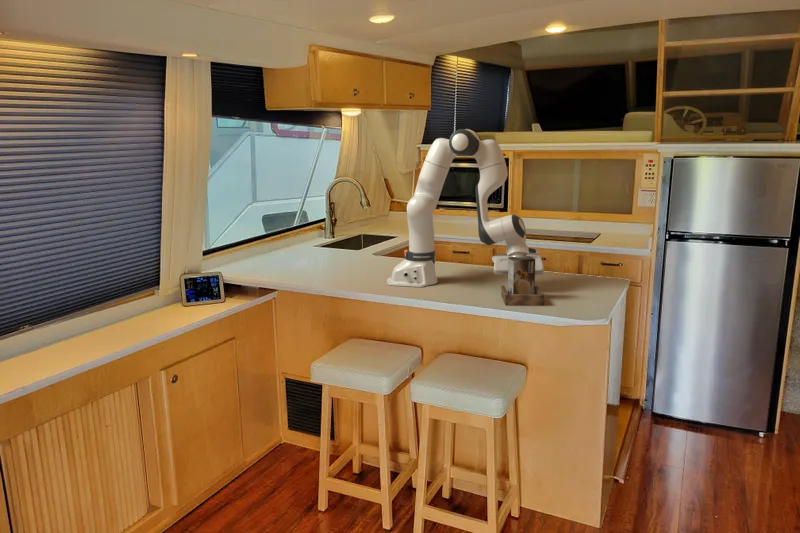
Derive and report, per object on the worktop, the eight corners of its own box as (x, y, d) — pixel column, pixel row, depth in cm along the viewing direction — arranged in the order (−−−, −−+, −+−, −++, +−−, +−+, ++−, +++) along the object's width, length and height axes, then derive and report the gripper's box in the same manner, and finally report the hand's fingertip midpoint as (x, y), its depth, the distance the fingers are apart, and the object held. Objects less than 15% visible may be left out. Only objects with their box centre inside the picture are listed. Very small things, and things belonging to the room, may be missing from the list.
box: (505, 305, 223) (505, 295, 222) (501, 294, 238) (501, 285, 237) (543, 305, 222) (544, 295, 221) (536, 295, 237) (537, 285, 236)
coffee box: (528, 294, 238) (530, 255, 235) (534, 298, 232) (536, 258, 229) (506, 295, 237) (508, 256, 233) (512, 299, 231) (513, 259, 227)
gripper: (492, 250, 243) (494, 278, 235) (542, 249, 242) (545, 278, 234) (491, 258, 248) (493, 286, 241) (540, 258, 247) (543, 286, 239)
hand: (519, 282), depth 237 cm, fingers closed
